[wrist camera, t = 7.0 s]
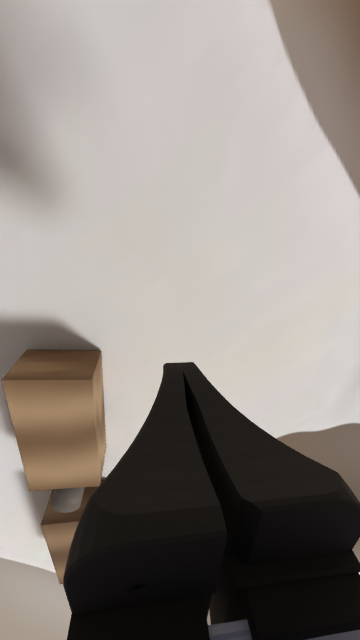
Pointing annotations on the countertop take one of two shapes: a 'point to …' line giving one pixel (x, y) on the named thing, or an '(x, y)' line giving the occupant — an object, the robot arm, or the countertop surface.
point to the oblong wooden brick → (62, 531)
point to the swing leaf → (59, 421)
